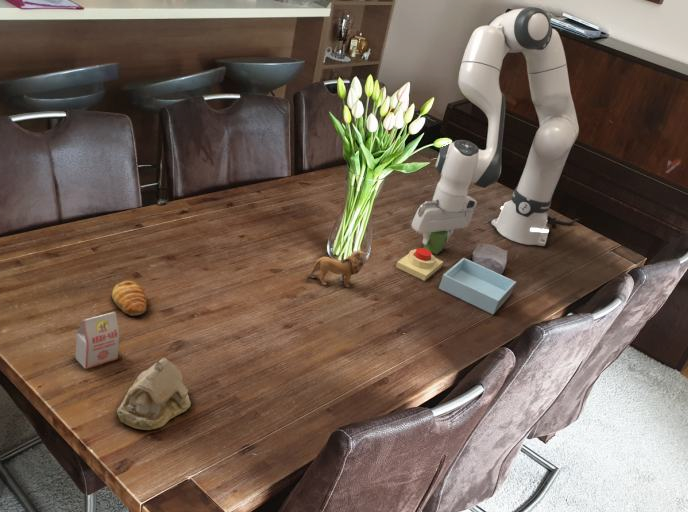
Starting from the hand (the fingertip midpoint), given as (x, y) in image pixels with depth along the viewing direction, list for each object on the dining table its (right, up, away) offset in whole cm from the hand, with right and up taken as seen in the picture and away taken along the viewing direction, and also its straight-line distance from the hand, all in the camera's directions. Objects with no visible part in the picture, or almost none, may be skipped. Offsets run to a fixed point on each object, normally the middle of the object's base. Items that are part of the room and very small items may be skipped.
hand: (434, 242), depth 219 cm
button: (-5, -6, -12) cm, 14 cm away
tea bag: (-74, -33, -74) cm, 109 cm away
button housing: (-5, -8, -10) cm, 14 cm away
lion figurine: (-29, -14, -28) cm, 42 cm away
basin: (+9, -15, -15) cm, 23 cm away
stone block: (+16, -6, +2) cm, 17 cm away
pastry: (-72, -21, -56) cm, 94 cm away
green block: (0, -2, +1) cm, 2 cm away
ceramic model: (-61, -41, -81) cm, 109 cm away
